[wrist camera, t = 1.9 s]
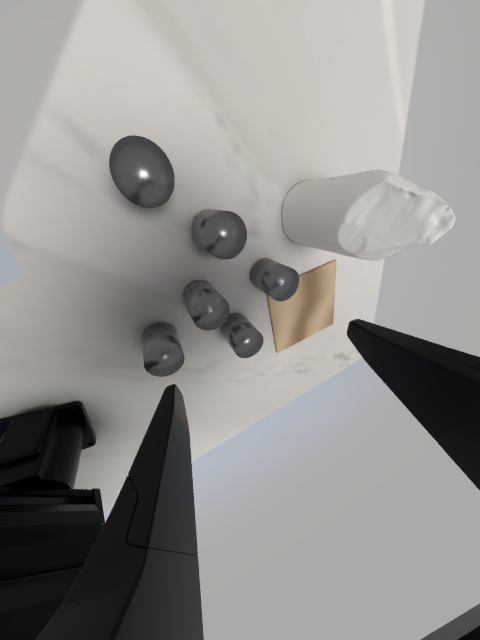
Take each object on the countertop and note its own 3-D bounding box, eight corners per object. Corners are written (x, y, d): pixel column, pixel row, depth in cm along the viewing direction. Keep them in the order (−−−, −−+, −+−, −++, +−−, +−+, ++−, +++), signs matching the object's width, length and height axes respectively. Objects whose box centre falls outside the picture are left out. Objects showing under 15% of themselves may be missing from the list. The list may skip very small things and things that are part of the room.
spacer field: (265, 331, 26) (284, 349, 23) (144, 352, 20) (146, 380, 17) (291, 179, 19) (323, 175, 15) (110, 146, 13) (103, 128, 10)
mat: (276, 351, 29) (277, 353, 29) (265, 289, 23) (267, 290, 23) (331, 322, 31) (333, 323, 31) (334, 259, 25) (336, 260, 25)
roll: (412, 201, 9) (500, 128, 10) (272, 201, 19) (318, 165, 19) (409, 293, 13) (472, 239, 13) (293, 255, 23) (331, 224, 23)
